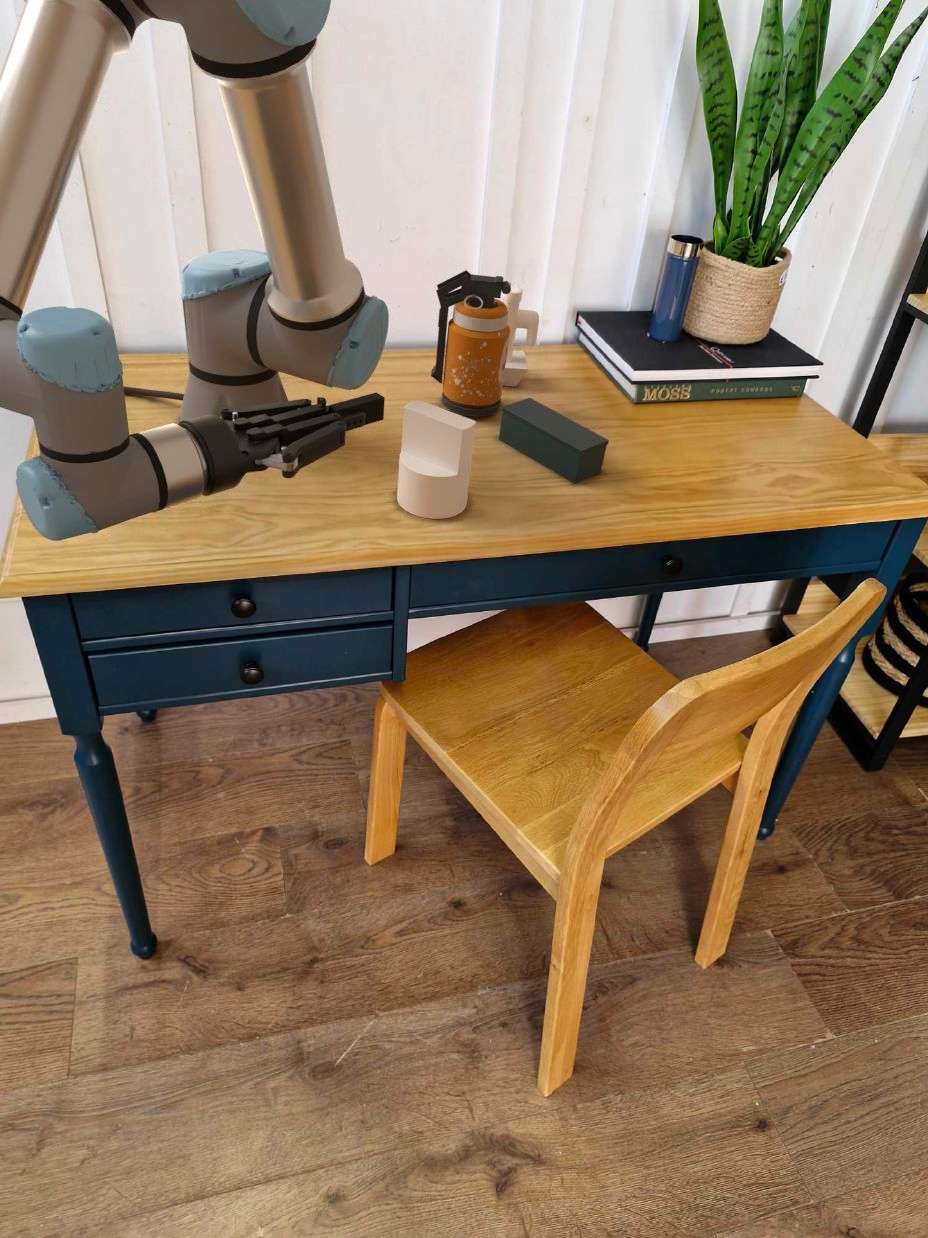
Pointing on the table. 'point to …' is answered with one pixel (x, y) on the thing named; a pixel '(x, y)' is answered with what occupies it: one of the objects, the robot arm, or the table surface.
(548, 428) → the pencil box
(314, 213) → the robot arm
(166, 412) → the table surface
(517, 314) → the figurine
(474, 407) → the canister
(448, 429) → the cylinder with rectangular tab
